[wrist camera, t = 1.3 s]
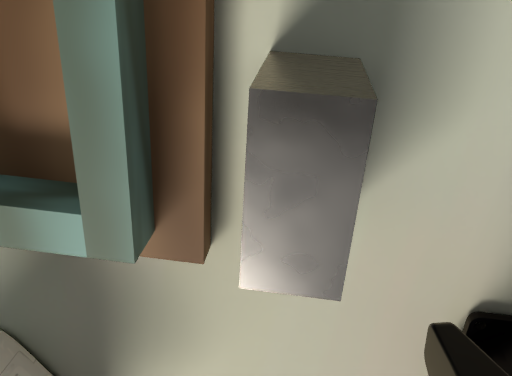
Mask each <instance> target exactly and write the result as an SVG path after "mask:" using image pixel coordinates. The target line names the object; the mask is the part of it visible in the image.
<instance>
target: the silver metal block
mask: <svg viewBox="0 0 512 376" xmlns="http://www.w3.org/2000/svg"><path fill="white" fill-rule="evenodd" d="M376 105H377V97H376V95H375V93H374V90H373V88H372V85H371V83H370V81H369V78H368V76H367V74H366V71H365V69H364V67H363V64H362V62H361V59H360V58H349V57H337V56H325V55H313V54H301V53H289V52H277V51H270V52H269V54H268V56H267V58H266V59H265V61H264V63H263V65H262V66H261V68H260V70H259V72H258V74H257V75H256V77H255V79H254V81H253V83H252V84H251V86H250V88H249V106H248V125H247V144H246V163H245V182H244V201H243V220H242V239H241V258H240V277H239V288H241V289H249V290H257V291H265V292H273V293H280V294H288V295H296V296H304V297H311V298H319V299H327V300H335V301H341V296H342V291H343V285H344V280H345V274H346V269H347V264H348V258H349V253H350V247H351V242H352V236H353V231H354V225H355V220H356V214H357V209H358V203H359V198H360V193H361V187H362V182H363V176H364V171H365V165H366V160H367V154H368V149H369V143H370V138H371V132H372V127H373V122H374V116H375V111H376Z"/></svg>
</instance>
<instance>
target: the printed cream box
mask: <svg viewBox="0 0 512 376" xmlns="http://www.w3.org/2000/svg"><path fill="white" fill-rule="evenodd" d="M0 376H53V375H52V374H51V373H50V372H49V371H47V370H46V369H45V368H44V367H43V366H42V365H41V364H40V363H39V362H38V361H37V360H36V359H35V358H34V357H33V356H32V355H31V354H30V353H29V352H28V351H27V350H26V349H25V348H24V347H22V346H21V345H20V344H19V343H18V342H17V341H16V340H14V339H13V338H12V337H11V336H9V335H8V334H7V333H5V332H4V331H0Z"/></svg>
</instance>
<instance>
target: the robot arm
mask: <svg viewBox="0 0 512 376" xmlns="http://www.w3.org/2000/svg"><path fill="white" fill-rule="evenodd" d="M481 321H482V322H481ZM477 322H481V323H479V324H476V323H477ZM424 356H425V363H426V367H427V371H428V375H429V376H512V316H510V315H502V314H494V313H486V312H474V313H472V314H470V315H469V316H468V318H467V320H466V323H465V325H464V328H463V331H461V330H460V329H459V328H458V327H457V326H456V325H454V324H453V323H450V322H442V323H432V324H430V325H429V327H428V332H427V338H426V344H425V350H424Z"/></svg>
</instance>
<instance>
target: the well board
mask: <svg viewBox="0 0 512 376" xmlns="http://www.w3.org/2000/svg"><path fill="white" fill-rule="evenodd" d="M213 58H214V0H0V247H7V248H15V249H23V250H31V251H39V252H46V253H54V254H62V255H70V256H78V257H86V258H94V259H102V260H110V261H118V262H126V263H133V264H135V262H136V261H137V259H138V257H139V256H142V257H150V258H158V259H166V260H174V261H182V262H190V263H198V264H204V262H205V259H206V256H207V254H208V251H209V249H210V244H211V182H212V120H213Z"/></svg>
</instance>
